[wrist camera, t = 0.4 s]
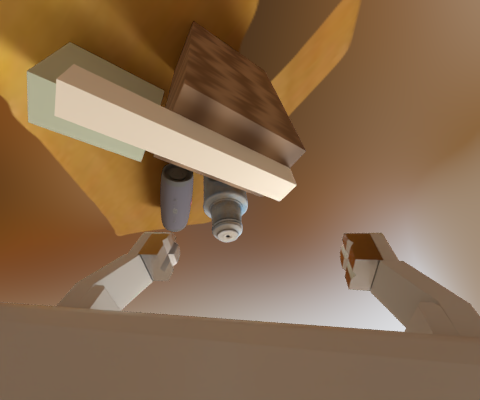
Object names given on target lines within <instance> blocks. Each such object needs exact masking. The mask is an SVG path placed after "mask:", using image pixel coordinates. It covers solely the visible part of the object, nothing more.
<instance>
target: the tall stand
mask: <svg viewBox="0 0 480 400" xmlns="http://www.w3.org/2000/svg"><path fill="white" fill-rule="evenodd" d="M165 108H166V109H168V110H170V111H172V112H175V113H177V114H179V115H181V116H183V117H185V118H187V119H189V120H191V121H193V122H195V123H197V124H199V125H202V126H204V127H206V128H208V129H210V130H212V131H214V132H216V133H218V134H220V135H222V136H224V137H226V138H229V139H231V140H233V141H235V142H237V143H239V144H241V145H243V146H245V147H247V148H249V149H251V150H253V151H256V152H258V153H260V154H262V155H264V156H266V157H268V158H270V159H272V160H274V161H276V162H278V163H280V164H283V165H285V166H287V167H289V168H290V167H291V166H292V165H293V164H294V163H295V162H296V161H297V160H298V159H299V158H300V156H302V155H303V154H304V152H306V150H305V148H304V146H303V144H302V142H301V140H300V138H299V136H298V134H297V133H296V130H295V128H294V127H293V125H292V123H291V121H290V119H289V117H288V115H287V113H286V111H285V109H284V107H283V105H282V103H281V101H280V99H279V97H278V95H277V93H276V91H275V89H274V88H273V86H272V84H271V82H270V80H269V78H268V76H267V74H266V72H265V71H264V70H263V69H261V68H260V67H258V66H257V65H256V64H254V63H253V62H251V61H250V60H248V59H247V58H245V57H244V56H243V55H241V54H240V53H238V52H237V51H236V50H234V49H233V48H231V47H230V46H228V45H227V44H226V43H224V42H223V41H221V40H220V39H218V38H217V37H216V36H214V35H213V34H211V33H210V32H208V31H207V30H206V29H204V28H203V27H201V26H200V25H198V24H197V23H196V22H194V21H193V24H192V26H191V29H190V32H189V34H188V37H187V39H186V42H185V45H184V47H183V50H182V53H181V55H180V58H179V61H178V63H177V66H176V68H175V71H174V75H173V79H172V83H171V87H170V91H169V95H168V99H167V103H166V107H165ZM153 157H155V158H158V159H160V160H163V161H166V162H168V163H171V164H174V165H176V166H179V167H182V168H184V169H187V170H190V171H193V172H195V173H198V174H201V175H203V176H206V177H209V178H211V179H214V180H217V181H219V182H222V183H225V184H227V185H230V186H233V187H235V188H238V189H241V190H244V191H246V192H249V193H252V194H255V195H257V196H260V197H263V196H264V195H262V194H259V193H256V192H254V191H251V190H249V189H246V188H243V187H241V186H238V185H235V184H233V183H230V182H228V181H225V180H222V179H220V178H217V177H214V176H212V175H209V174H206V173H204V172H201V171H199V170H196V169H193V168H191V167H188V166H185V165H183V164H180V163H177V162H175V161H172V160H170V159H167V158H164V157H162V156H159V155H156V154H154V156H153Z"/></svg>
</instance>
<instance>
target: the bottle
mask: <svg viewBox="0 0 480 400" xmlns="http://www.w3.org/2000/svg"><path fill="white" fill-rule="evenodd" d="M203 208H204V212H205V214H206V215H207V216H208V217H210V218H212V225H213V227H212V233H213V235H214V236H215V237H216V238H217V239H218V240H220V241H223V242H231V241H234V240H236V239H237V238H238V237H239V236H240V235H241V233H242V230H243V226H242V223H241V216H242V215H243V214H244V213H245V212H246V210H247V208H248V201H247V196H246V191H244V190H241V189H238V188H235V187H233V186H230V185H227V184H225V183H222V182H219V181H217V180H214V179H211V178H209V177H206V176H204V205H203Z"/></svg>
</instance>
